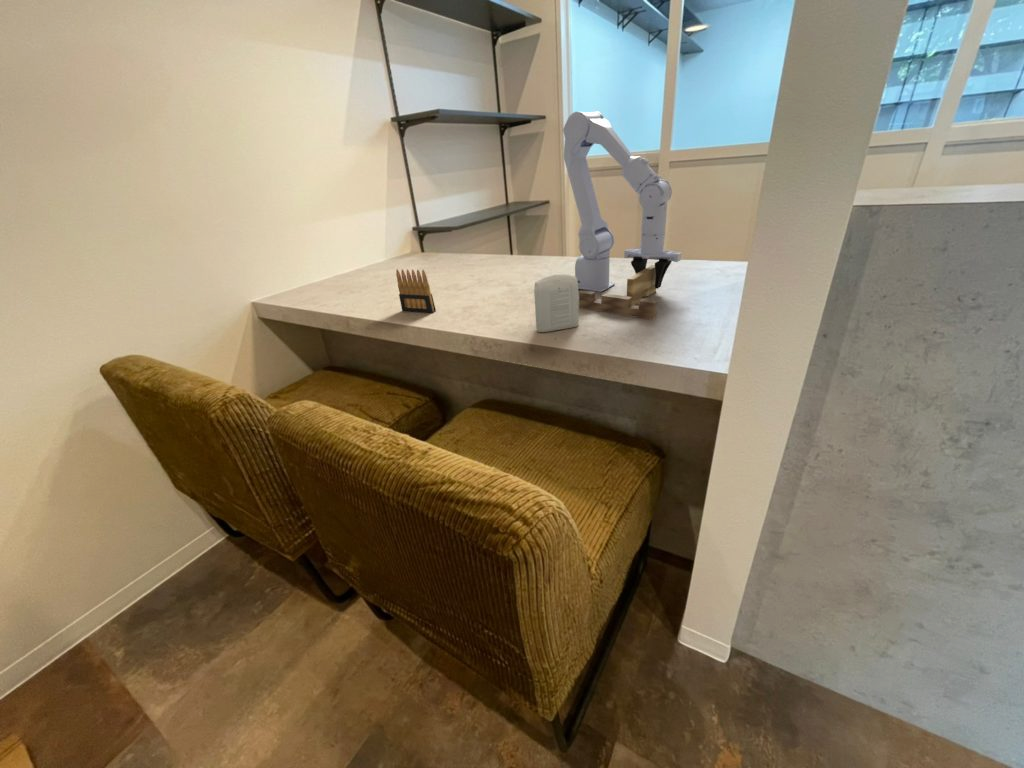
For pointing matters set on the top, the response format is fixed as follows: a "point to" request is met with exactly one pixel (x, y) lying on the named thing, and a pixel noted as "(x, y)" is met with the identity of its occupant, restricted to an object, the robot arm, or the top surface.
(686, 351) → the top surface
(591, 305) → the slotted beam
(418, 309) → the ammunition clip
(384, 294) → the top surface
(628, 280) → the crossbar
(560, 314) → the miniature gravestone
